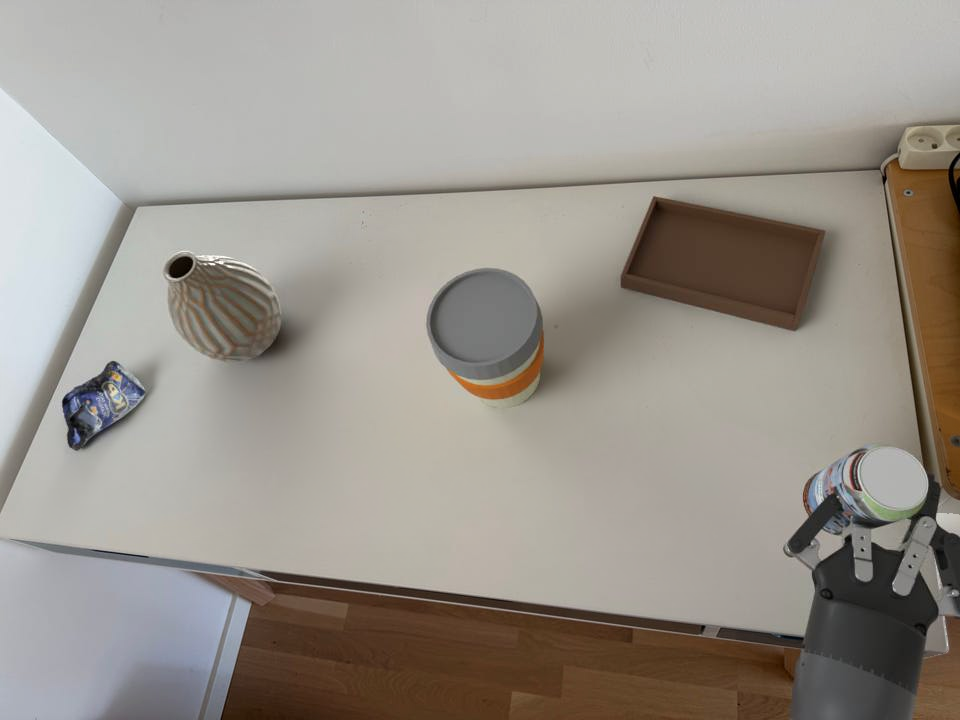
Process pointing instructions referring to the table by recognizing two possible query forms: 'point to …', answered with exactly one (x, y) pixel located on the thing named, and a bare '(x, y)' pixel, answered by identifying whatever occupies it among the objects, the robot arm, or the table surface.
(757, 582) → the table surface
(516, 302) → the reusable coffee cup
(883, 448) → the beverage can
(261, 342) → the vase
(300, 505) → the table surface
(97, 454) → the table surface
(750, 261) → the serving tray
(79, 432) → the snack package
